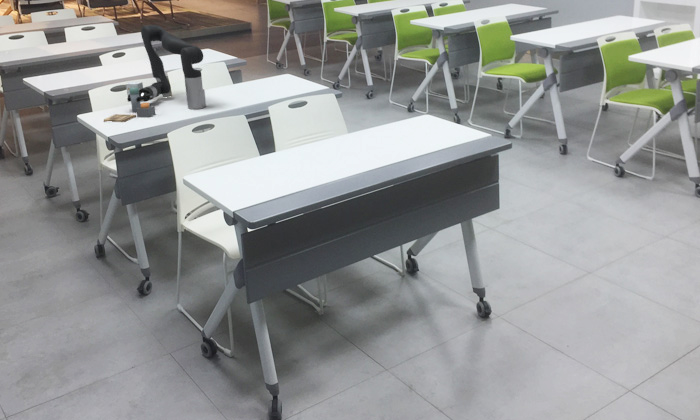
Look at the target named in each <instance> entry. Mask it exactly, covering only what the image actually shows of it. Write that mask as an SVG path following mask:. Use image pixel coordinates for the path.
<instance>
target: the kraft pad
mask: <svg viewBox="0 0 700 420" xmlns="http://www.w3.org/2000/svg"><path fill="white" fill-rule="evenodd" d="M136 117H137V114H124V113H123V114H121V113H120V114H118V113H117V114H113V115H111V116H109V117H106V118H104V119H103V122H107V121H112V122H113V123H114V122H115V123H116V122H117V123H118V122H119V123H125V122H127V121H129V120H132V119H133V118H136ZM112 122H111V123H112Z"/></svg>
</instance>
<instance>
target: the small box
mask: <svg viewBox="0 0 700 420" xmlns="http://www.w3.org/2000/svg"><path fill="white" fill-rule="evenodd" d="M131 87H138V88H139V90H140V89H142V88H144V85H143V82H142V81H139V82H138V81H130V82H127V83H125V88H126V95H127V96H128V95H129V94H130V92H129V88H131Z"/></svg>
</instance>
